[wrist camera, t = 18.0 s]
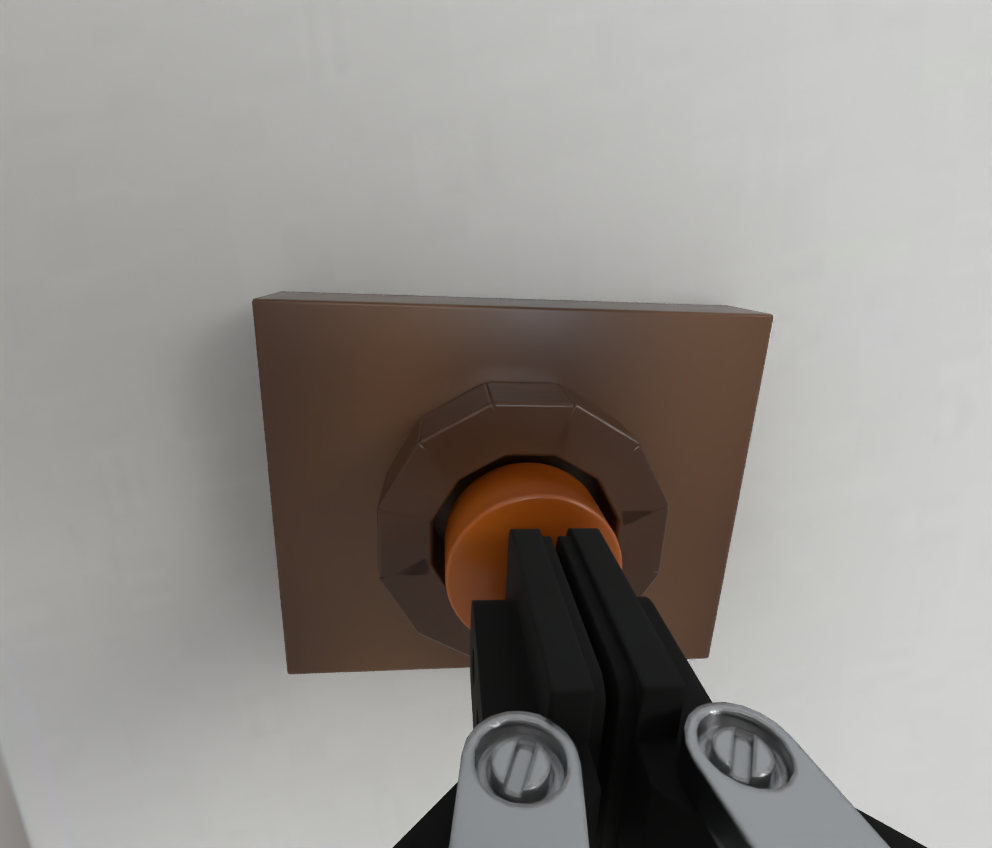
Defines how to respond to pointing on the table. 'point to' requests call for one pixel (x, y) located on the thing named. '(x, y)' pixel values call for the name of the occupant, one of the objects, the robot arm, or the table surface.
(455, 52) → the table surface
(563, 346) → the control block
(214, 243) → the table surface
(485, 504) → the button
